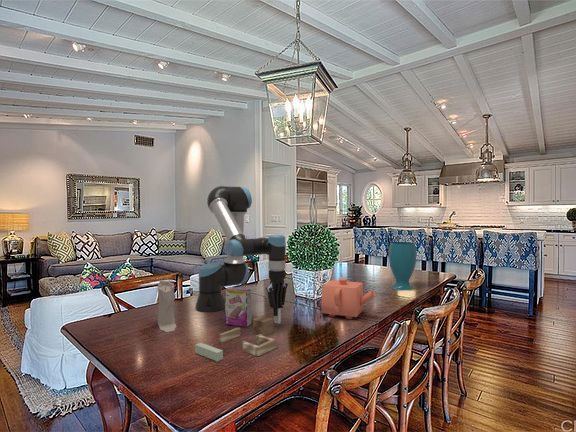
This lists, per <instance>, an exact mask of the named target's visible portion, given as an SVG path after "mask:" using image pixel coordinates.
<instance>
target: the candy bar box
mask: <svg viewBox="0 0 576 432" xmlns="http://www.w3.org/2000/svg"><path fill="white" fill-rule="evenodd" d="M224 291H225V292H224V299H225V300H224V302H225V308H224V310H225V311H224V317H225V318H224V325H228V326H235V327H240V328H241V327H243V328H248V327H249V326H250V325H252V288H245V287H234V286H228V287H226V288H225V289H224Z"/></svg>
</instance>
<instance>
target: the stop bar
mask: <svg viewBox="0 0 576 432" xmlns="http://www.w3.org/2000/svg"><path fill="white" fill-rule="evenodd" d="M194 348H195V350H194V351H195V352H194V353H195V354H197V355H199V356H202V357H205V358H207V359H210V360H212V361H214V362H215V361H216V362H219V361H223V360H224V350H223V349H219V348H217V347H214V346H211V345H210V344H209V345H208V344H206V343H203V342H199V343H196V344H195V345H194Z"/></svg>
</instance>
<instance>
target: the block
mask: <svg viewBox="0 0 576 432" xmlns="http://www.w3.org/2000/svg"><path fill="white" fill-rule="evenodd" d="M252 332H253V334H254V335H256V336H257V335H259V334H262V335H263V336H265V337H267V336H269V335H271V334H273V333H274V317H269V316H265V315H262V316H258V317H255V318H253V320H252Z"/></svg>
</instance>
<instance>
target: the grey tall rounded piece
mask: <svg viewBox="0 0 576 432" xmlns="http://www.w3.org/2000/svg"><path fill="white" fill-rule="evenodd" d="M158 282H159V283H158V285H157V297H158V312H157V313H158V315H157V327H158V328H159V330H160V331H164V332H165V333H168V332H174V331H176V330H175V329H176V328H177V324H176V319H175V283H174V282H171V281H170V280H159V281H158Z"/></svg>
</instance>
